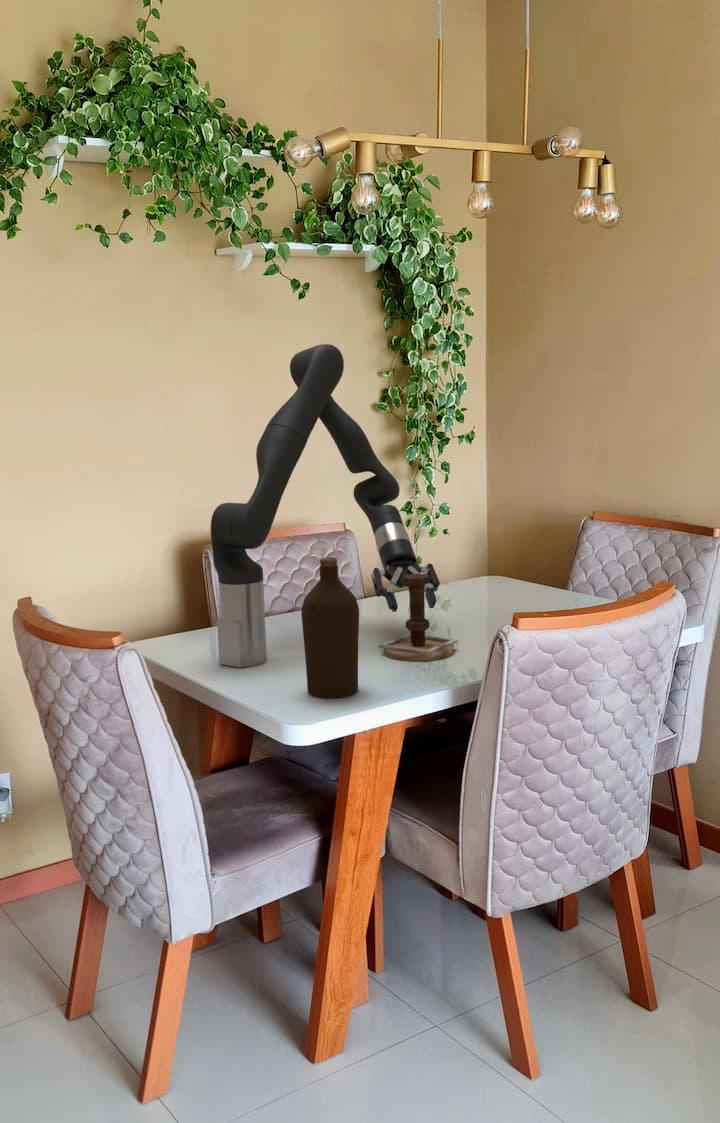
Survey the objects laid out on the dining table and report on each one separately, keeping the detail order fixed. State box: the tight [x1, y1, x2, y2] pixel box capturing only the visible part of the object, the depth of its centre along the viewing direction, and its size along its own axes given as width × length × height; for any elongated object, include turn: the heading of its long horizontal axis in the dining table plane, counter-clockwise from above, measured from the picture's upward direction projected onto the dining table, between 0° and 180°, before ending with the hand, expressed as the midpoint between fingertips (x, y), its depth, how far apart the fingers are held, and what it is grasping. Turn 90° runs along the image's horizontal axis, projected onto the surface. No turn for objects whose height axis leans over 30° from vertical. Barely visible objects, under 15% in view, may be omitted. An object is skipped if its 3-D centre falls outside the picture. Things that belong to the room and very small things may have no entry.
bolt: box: [403, 573, 430, 646], centre depth 209 cm, size 6×5×15 cm
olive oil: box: [300, 557, 360, 699], centre depth 182 cm, size 11×11×25 cm
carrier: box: [378, 633, 458, 662], centre depth 211 cm, size 15×15×2 cm
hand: (414, 607), depth 211 cm, fingers open, 8 cm apart
